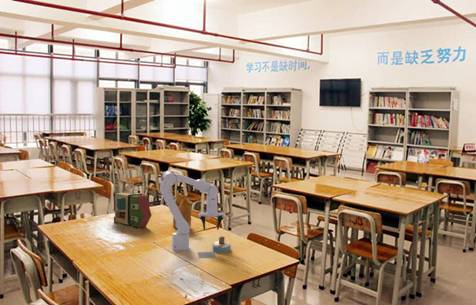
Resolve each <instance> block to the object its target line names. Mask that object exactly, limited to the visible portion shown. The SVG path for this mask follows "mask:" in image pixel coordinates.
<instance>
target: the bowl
mask: <svg viewBox="0 0 476 305" xmlns="http://www.w3.org/2000/svg"><path fill="white" fill-rule="evenodd" d="M211 245H212V246H211V247H212V249H211V250H212V252H214V253H219V254H223V253H224V254H225V253H229V252H230V251H231V249H232V247H231V245H230V246H229V247H227V248H217V247H214V246H213V243H212V244H211Z"/></svg>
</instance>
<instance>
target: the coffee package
mask: <svg viewBox="0 0 476 305" xmlns="http://www.w3.org/2000/svg"><path fill="white" fill-rule="evenodd" d="M175 203H176V205H177V207H178V209H179V211H180V212H181V214H182V216H183V218H184V220H186V222H187V223H188V224H189V226H190V228H191V226H192V205H191V203H190V201H189V196H188V195H185V194H182V193H181V192H178V194H177V196H176V199H175ZM172 219H173V221H172V226H173V227H175V229H178V228H177V227H176V221H175V219H174V217H173V216H172Z"/></svg>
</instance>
